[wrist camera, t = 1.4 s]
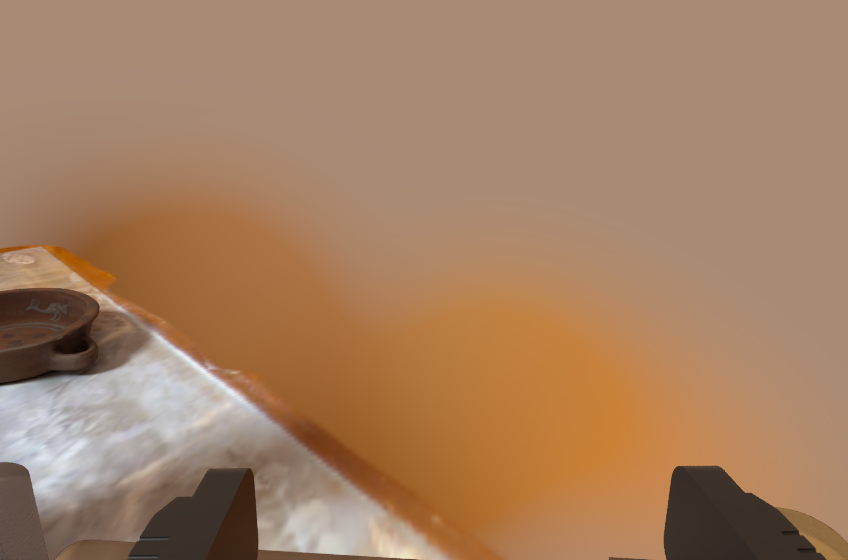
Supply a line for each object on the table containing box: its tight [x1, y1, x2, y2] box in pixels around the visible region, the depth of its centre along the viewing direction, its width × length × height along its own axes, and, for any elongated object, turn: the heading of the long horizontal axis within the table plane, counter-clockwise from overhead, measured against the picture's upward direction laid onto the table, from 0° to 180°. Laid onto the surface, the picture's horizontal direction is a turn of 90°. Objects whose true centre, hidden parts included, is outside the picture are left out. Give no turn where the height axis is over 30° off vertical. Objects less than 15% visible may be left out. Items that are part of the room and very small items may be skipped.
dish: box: [0, 288, 100, 383], centre depth 63 cm, size 17×22×5 cm
